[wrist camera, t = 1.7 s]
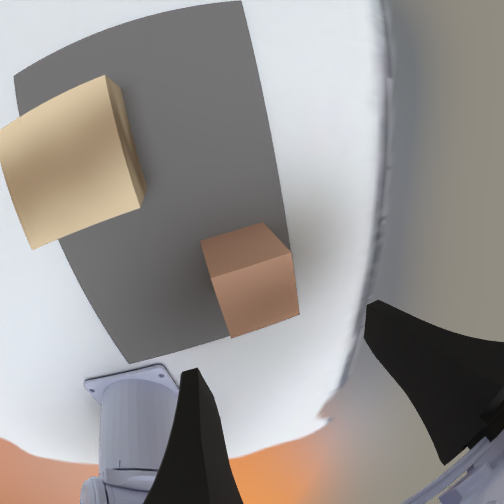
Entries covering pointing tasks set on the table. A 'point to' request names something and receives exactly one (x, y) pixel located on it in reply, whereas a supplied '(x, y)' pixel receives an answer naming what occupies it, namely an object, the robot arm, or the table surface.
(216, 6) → the mat
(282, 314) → the terracotta block
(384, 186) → the table surface
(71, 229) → the oak block
